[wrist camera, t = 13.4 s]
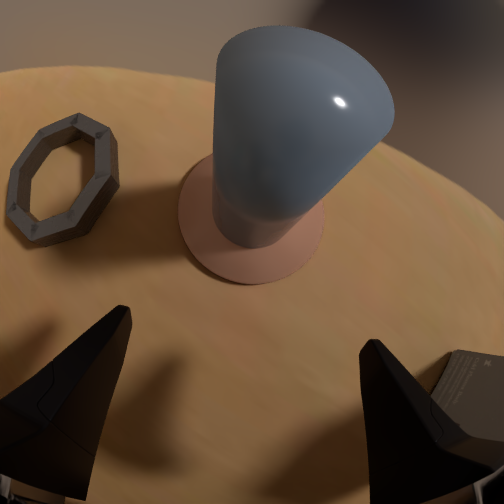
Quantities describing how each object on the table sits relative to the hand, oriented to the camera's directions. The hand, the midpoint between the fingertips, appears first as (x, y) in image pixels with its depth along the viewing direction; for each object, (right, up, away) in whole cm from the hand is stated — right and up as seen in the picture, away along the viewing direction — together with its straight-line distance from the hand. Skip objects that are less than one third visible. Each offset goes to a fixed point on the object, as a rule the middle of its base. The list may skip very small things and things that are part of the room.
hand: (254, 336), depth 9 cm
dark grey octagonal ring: (-15, +8, +8) cm, 19 cm away
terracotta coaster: (0, +6, +9) cm, 11 cm away
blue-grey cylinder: (0, +6, +9) cm, 11 cm away
